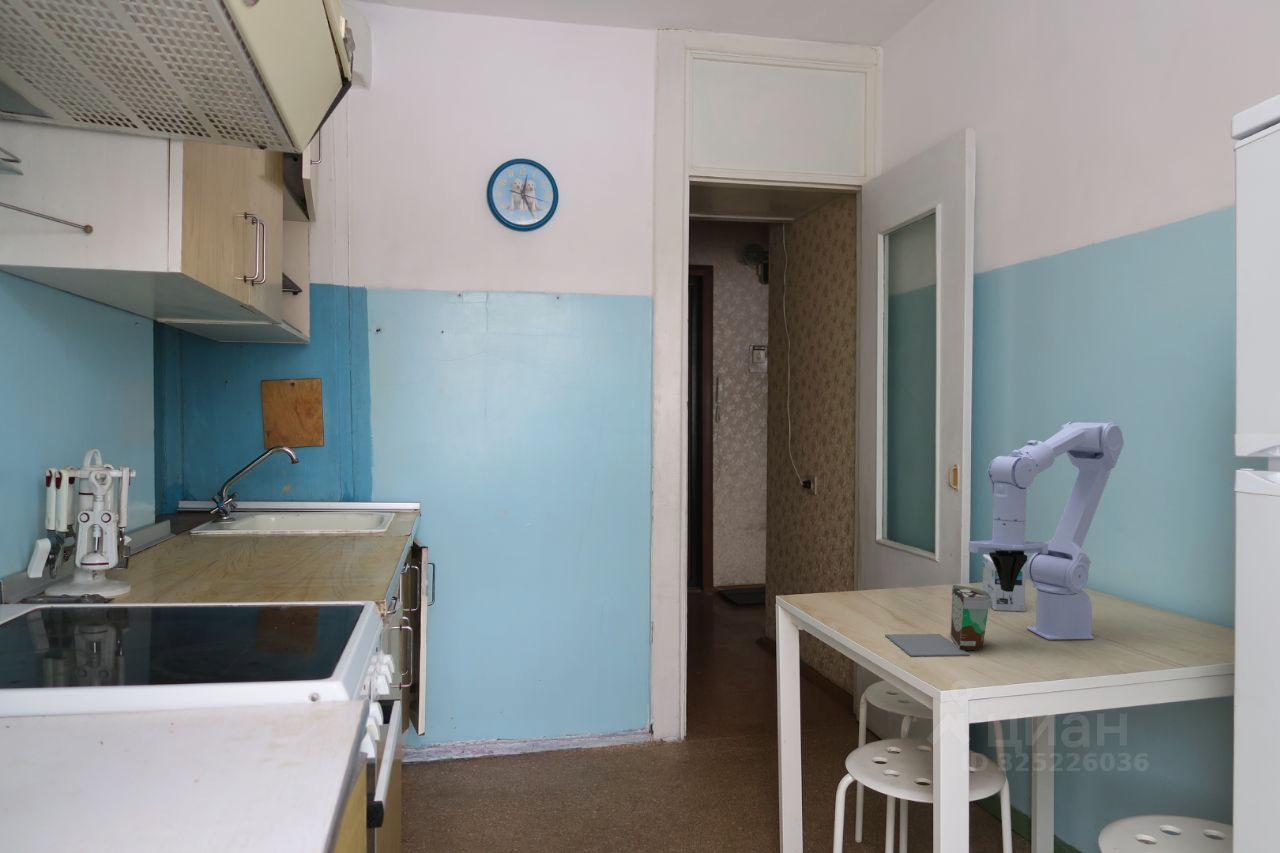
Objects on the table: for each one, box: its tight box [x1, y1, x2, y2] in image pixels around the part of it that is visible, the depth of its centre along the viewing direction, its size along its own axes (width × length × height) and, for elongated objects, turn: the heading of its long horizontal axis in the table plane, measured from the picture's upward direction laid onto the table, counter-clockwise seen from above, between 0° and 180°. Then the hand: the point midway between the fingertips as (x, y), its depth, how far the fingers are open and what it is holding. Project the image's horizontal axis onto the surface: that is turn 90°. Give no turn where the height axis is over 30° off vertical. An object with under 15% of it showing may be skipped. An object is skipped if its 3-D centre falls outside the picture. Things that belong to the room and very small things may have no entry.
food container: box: [950, 584, 993, 651], centre depth 154 cm, size 12×6×10 cm, turn 169°
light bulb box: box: [982, 554, 1026, 613], centre depth 184 cm, size 11×7×11 cm, turn 171°
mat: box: [884, 633, 971, 658], centre depth 154 cm, size 11×13×1 cm
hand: (1007, 590), depth 154 cm, fingers closed
